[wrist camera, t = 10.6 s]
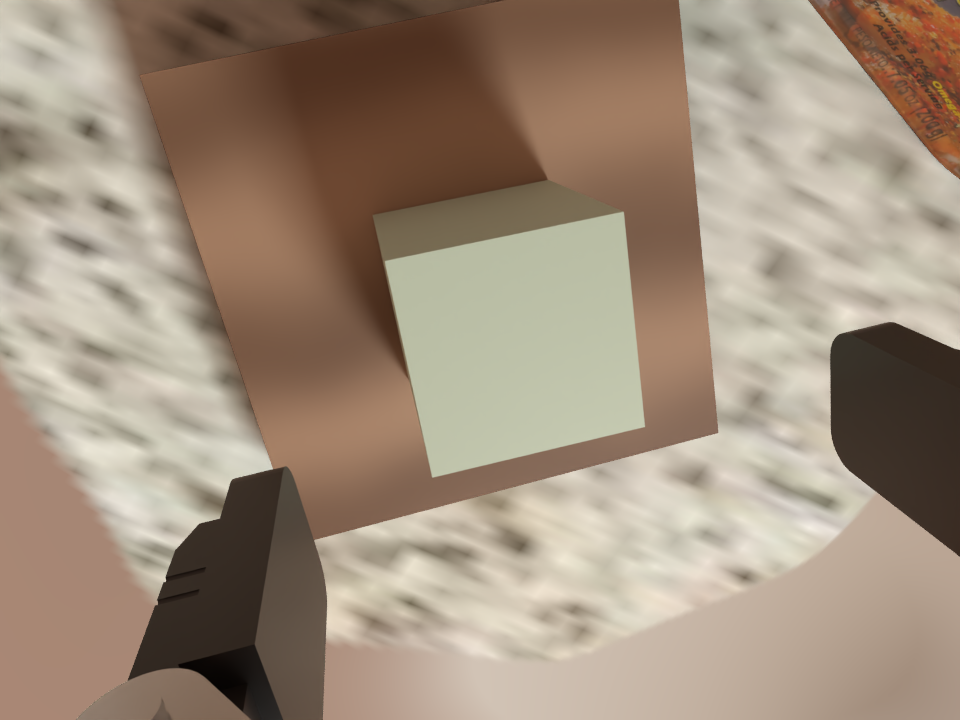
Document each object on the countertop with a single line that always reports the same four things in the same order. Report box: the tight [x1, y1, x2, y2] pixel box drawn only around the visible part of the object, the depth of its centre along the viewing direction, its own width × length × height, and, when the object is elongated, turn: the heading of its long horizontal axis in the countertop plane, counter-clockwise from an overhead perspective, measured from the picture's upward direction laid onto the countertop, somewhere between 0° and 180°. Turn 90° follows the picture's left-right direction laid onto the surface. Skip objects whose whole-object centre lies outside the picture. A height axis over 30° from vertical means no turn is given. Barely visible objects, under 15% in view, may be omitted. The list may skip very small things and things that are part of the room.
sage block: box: [373, 180, 645, 478], centre depth 19 cm, size 5×5×6 cm
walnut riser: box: [140, 0, 718, 540], centre depth 23 cm, size 14×14×4 cm
